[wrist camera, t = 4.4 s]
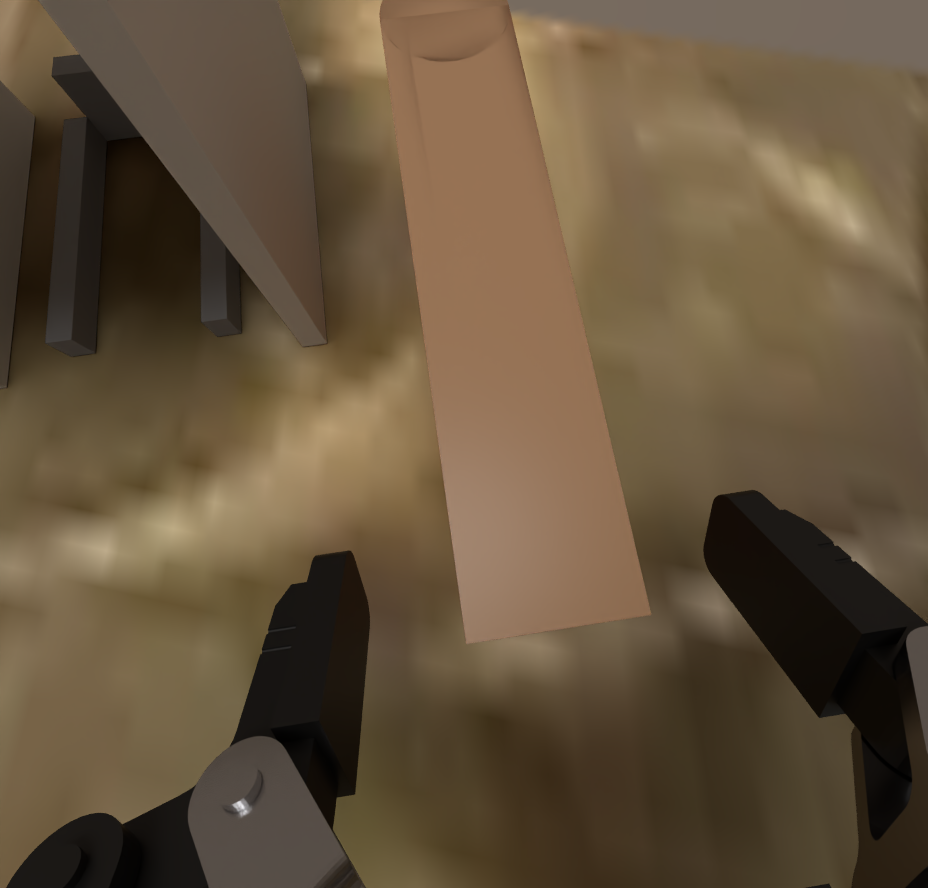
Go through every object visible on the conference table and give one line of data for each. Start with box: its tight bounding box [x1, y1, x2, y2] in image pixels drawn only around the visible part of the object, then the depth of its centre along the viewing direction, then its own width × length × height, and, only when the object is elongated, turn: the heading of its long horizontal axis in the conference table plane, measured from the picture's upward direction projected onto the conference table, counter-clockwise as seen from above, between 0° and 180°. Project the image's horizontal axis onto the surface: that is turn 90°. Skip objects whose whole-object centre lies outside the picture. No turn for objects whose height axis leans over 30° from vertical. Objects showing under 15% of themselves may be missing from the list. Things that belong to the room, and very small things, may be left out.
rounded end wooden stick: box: [380, 0, 651, 644], centre depth 15 cm, size 18×4×8 cm, turn 8°
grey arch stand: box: [0, 0, 327, 388], centre depth 14 cm, size 14×14×14 cm
